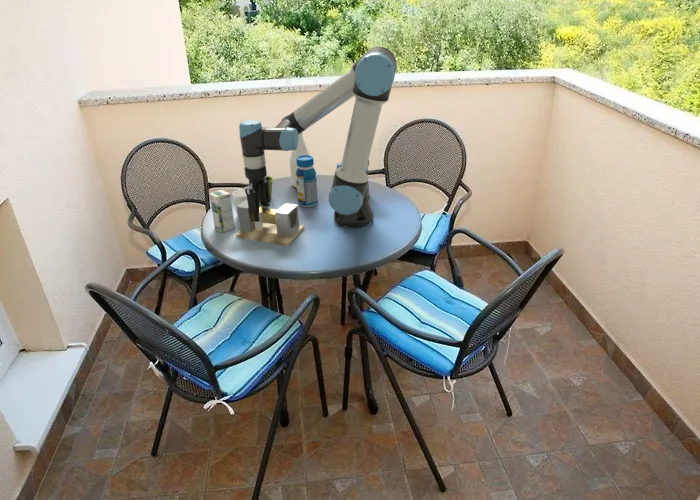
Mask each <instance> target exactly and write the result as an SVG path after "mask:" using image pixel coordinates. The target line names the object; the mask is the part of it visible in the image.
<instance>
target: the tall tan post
mask: <svg viewBox="0 0 700 500" xmlns="http://www.w3.org/2000/svg"><path fill="white" fill-rule="evenodd" d="M259 210H260V212H261V216H262V222H263V223H269V224H276V218H275V212H276V211H277V210H278V209H276V208H268V207H267V208H262V207H260V206H259ZM251 220H252V221H254V214H251Z"/></svg>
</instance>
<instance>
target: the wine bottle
mask: <svg viewBox="0 0 700 500" xmlns="http://www.w3.org/2000/svg"><path fill="white" fill-rule="evenodd" d="M298 136H299V142H298V147H297V149H296V150H291V153H290V156H289V167H290V169H289V170H290V181H291V185H292V187H294V188H296V189H297V183H296V178H297V176H296V171H297V169H298V166H297V161H296V159H297V157H298V156H301V155H310V156H311V154H310V152H309V150H308V147H307V145H306V143H305V141H304V137H303V132H302V133H300V134H299V135H298Z"/></svg>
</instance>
